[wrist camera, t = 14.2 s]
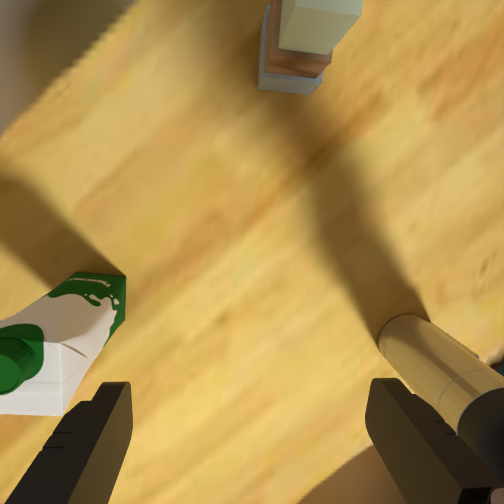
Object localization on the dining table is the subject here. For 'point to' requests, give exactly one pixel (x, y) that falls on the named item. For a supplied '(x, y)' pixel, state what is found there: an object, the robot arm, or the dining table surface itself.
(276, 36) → the tower top
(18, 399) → the milk carton
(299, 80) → the tower base
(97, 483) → the robot arm
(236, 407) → the dining table surface
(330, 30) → the green block
